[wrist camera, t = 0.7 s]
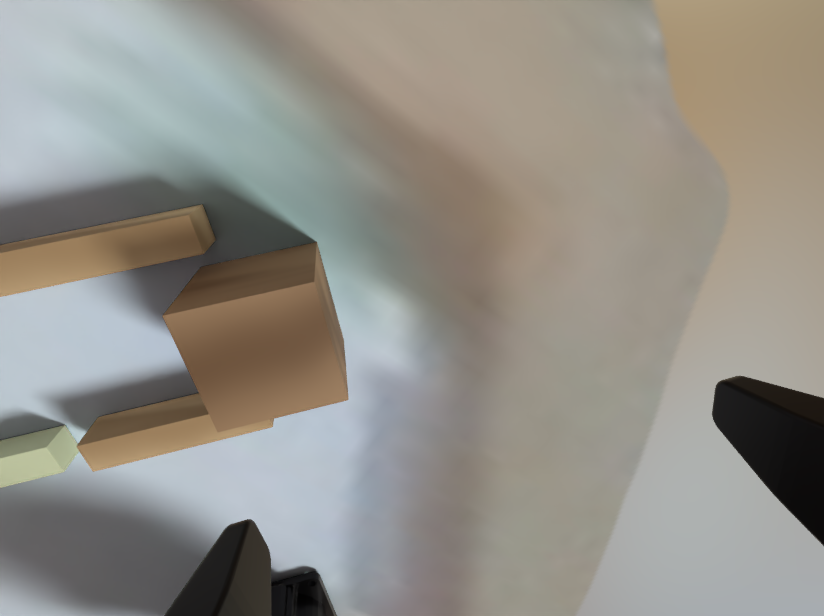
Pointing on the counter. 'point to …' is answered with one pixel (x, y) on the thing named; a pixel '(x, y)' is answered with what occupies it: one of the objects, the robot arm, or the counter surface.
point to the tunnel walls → (111, 253)
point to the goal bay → (36, 455)
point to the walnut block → (261, 337)
